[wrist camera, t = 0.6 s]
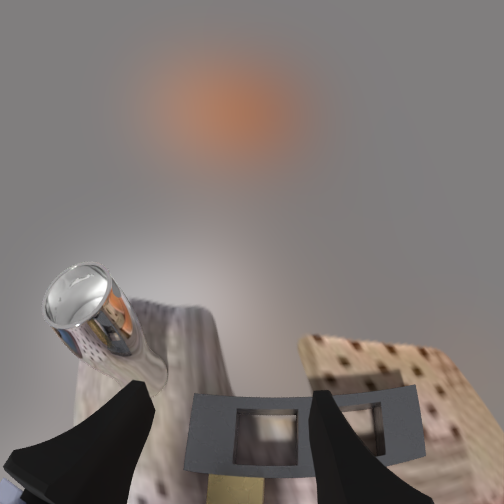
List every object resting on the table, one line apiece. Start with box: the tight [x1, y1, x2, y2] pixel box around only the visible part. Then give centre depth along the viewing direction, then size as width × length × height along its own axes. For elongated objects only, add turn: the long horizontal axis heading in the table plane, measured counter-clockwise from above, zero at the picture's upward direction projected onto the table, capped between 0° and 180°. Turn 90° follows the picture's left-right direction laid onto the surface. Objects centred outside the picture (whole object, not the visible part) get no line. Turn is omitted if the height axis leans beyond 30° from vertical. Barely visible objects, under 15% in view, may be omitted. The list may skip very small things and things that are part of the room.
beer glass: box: [42, 262, 168, 398], centre depth 23 cm, size 7×7×15 cm
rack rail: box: [184, 385, 426, 478], centre depth 21 cm, size 8×22×2 cm, turn 87°
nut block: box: [206, 474, 265, 504], centre depth 16 cm, size 4×4×6 cm
